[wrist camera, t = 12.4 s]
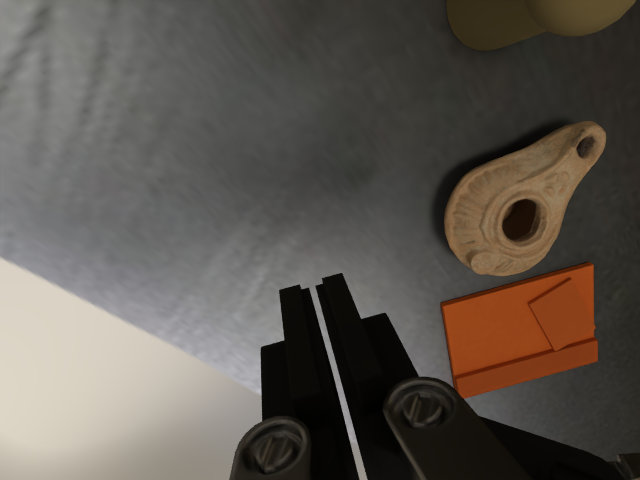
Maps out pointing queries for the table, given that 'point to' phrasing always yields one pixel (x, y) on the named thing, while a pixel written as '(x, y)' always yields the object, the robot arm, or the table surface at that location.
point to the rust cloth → (521, 330)
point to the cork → (528, 19)
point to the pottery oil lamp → (519, 200)
